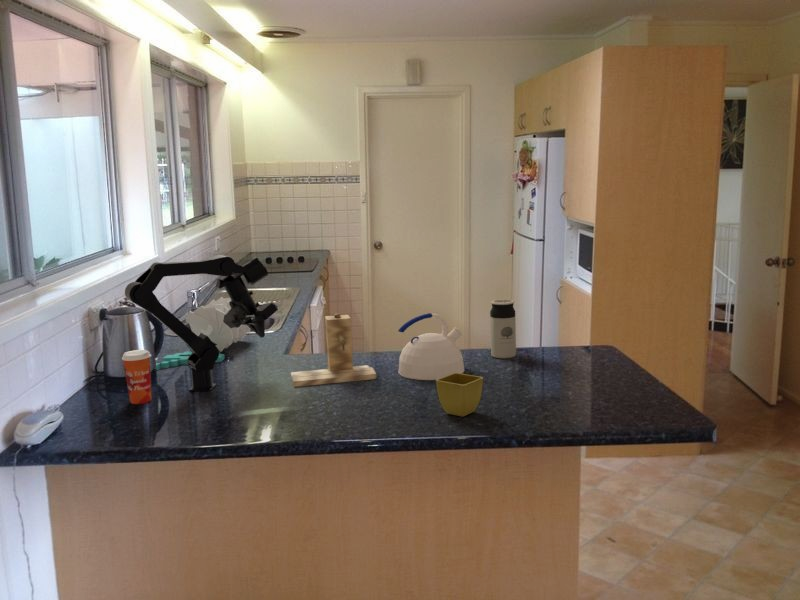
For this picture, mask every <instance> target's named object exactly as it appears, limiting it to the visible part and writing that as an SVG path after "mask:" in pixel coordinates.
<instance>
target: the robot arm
mask: <svg viewBox="0 0 800 600" xmlns="http://www.w3.org/2000/svg"><path fill="white" fill-rule="evenodd" d="M267 269H268V268H266V266H265V265H264V264H263V263H262V262H261V261H260V260H259V258H258V257H256V256H253V258H251V259H250V260H249V261H247V262H245V263H244V264H239V263H236V262H235V260H234V259H233V258H232V257H230V256H227V255H223V254H218V255H214V256H209V257H207V258H204V259H199V260H186V261H170V262H169V261H168V262H158V261H157V262H153V263H151V265H150V266H149V267H148V269H147V270H146V271H144V272H143V273H141V275H139V277H137V279H136V280H135V281H132V282H130V283H128V284H127V285H126V287H125V289H124V296H125V298H126V299H127V300H128V301H130V302H132V303H134V304H135V305H136V306H138V307H140V308H142V309H144V310H145V311H147V312H149V313H150V314H151V315H152V316H153V317H154V318H156V319H157V320H158V321H159V322H160V323H161V324H163V326H165V328H167V329H169V331H170V332H172V333H173V334H174V335H176V336H177V338H179V339H180V340H182V341H183V342H184V343H185V345H186V346H187V348H188V350H189V351H191V352H192V354H191V355H190V356H189V358H188V359H187V360H186V361H187V363H188V365H187V366H188V367H189V368H190V373H191V385H192V386H191V387H190V388H188V392H205V391H206V392H210V391H211V390H213V388H215V386H217V383H216V382H213V377H212V376H213V375H212V370H213V369H214V367H215V363H216V362H215V361H216V360H217V359H218V357H219V353H220V351H219V350H218V348H217V347H216V345H217V344H216V343H214V342H212V341H211V340H210V339H209V337H208V336H206V335H204V334H203V333H200V335H199V336H197V335H196V334H195V333H194V332H192V330H191V328H189V327H188V326H187V325H185V324H184V323H183V322H182V321H181V320H180V319H179V318H177V317H176V316H175V315H174V314H173V313H171V311H170V310H168V309H167V308H166V306H163V305H162V303H161V302H160V300H159V299H158V298H157V296H156V295H155V293H154V291H155V290H156V289H157V287H158V286H159V284H160V283H161V281H162V280H163V278H164V277H175V276H178V277H179V276H190V275H191V276H192V275H210V276H211V275H212V276H221V277H224V278H217V280H216V283H215V285H214V286H215V288H218V289H222V288H224V290H225V292H226V294H227V295H228V298H230V299H231V301H230V302H229V303H230V304H229V305H230V306H231V309H230V310H229V311H228V313H227V314H225V315H224V320H223V322H224V323H225V324H226V325H227V326H229V327H230V328H235V327H236V328H238V327H240V326H241V325H246V326H248V327H249V328H250V330H252V331H253V332H254V333H255V334H256V335H257V336H259V337H260V339H263V338H264V337H265V336H266V335H265V333H266V332H265V330H266V329H265V321H266V320H268V319H269V318H270V317H272V316H273V315H274V314H275V313H276V312H277V311H278V310H279V309H278V307H277V305H276V303H274V302H267V303H263V304H262V305H261V306H260V302H258V301H257V302H255V300H254V298H253V297H252V295H254V292H253V290H248V287H247V286H246V285H250V286H254V285H255V284H258V283H259V282H260V281H263V280H264V279H265V278H267V277H268V276H269V272H268V270H267Z"/></svg>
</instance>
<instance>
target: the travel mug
mask: <svg viewBox="0 0 800 600" xmlns="http://www.w3.org/2000/svg"><path fill="white" fill-rule="evenodd" d="M514 303H515V300H513V299H501V298H500V299H493V300H491V301H490V304H491V306H492V307H491V310H490V311H489V315H490V352H491V354H490V355H491V357H493V358H495V359H512V358H514V357H516V356H517V339H516V338H517V335H516V331H517V329H516V328H517V327H516V310H515V308H514Z"/></svg>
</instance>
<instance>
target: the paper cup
mask: <svg viewBox="0 0 800 600" xmlns="http://www.w3.org/2000/svg"><path fill="white" fill-rule="evenodd" d="M151 357H152V354H151V352H150V351H148V350H147V349H134V350H130V351H125V352H124V353H123V355H122V357H121V360H122V362H123V370H124V374H125V380H126V386H127V391H128V396H129V397H128V398H129V402H130V403H131V404H132V405H142V404H147V403H149V402H151V401H152V380H151V379H152V376H151Z"/></svg>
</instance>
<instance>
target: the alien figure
mask: <svg viewBox="0 0 800 600" xmlns="http://www.w3.org/2000/svg"><path fill="white" fill-rule="evenodd" d="M191 354H192V352H191V351H190V350H189V351H184V352H177V353H175V354H166V355H165V356H164V357H162V362H158V363H157V362H155V363H156V369H157V370H156V371H159V370H161V369H169V368H170V367H178V366H180V365H183V366H184V365H187V366H189V365H188V363H187V361H186V360H187V359H188V358H189V356H190V355H191ZM224 360H225V354H224V353H221V352H219V357H218V359H217V360H216V361H215V363H222V362H223V361H224Z"/></svg>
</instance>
